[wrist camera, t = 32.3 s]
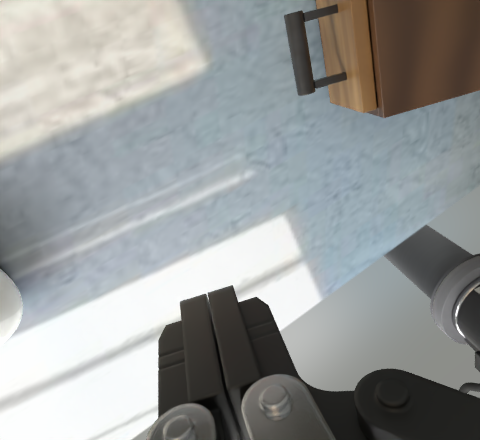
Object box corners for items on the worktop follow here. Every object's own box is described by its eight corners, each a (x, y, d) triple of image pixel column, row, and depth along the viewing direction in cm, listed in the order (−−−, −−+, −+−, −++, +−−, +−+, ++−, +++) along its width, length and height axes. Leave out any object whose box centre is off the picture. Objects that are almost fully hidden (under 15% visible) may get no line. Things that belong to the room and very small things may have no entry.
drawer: (288, 114, 38) (313, 127, 32) (264, -11, 34) (288, -24, 28) (463, 64, 39) (520, 68, 33) (461, -62, 35) (526, -86, 29)
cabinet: (339, 104, 40) (383, 118, 32) (320, -33, 35) (367, -56, 27) (478, 64, 41) (555, 68, 33) (479, -74, 36) (568, -108, 28)
